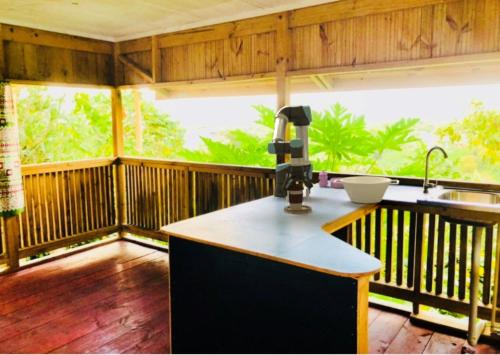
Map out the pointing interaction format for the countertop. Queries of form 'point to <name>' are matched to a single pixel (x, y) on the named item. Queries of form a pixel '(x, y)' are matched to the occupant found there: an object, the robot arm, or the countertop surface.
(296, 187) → the coffee cup
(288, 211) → the round tray
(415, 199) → the countertop surface
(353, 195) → the pot
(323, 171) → the container set
